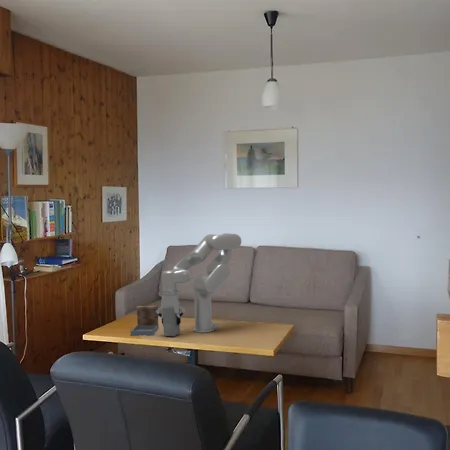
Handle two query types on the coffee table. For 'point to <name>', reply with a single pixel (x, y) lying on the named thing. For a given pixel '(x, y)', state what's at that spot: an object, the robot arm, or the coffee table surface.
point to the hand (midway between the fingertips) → (171, 324)
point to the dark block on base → (147, 316)
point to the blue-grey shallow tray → (143, 330)
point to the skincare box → (170, 322)
